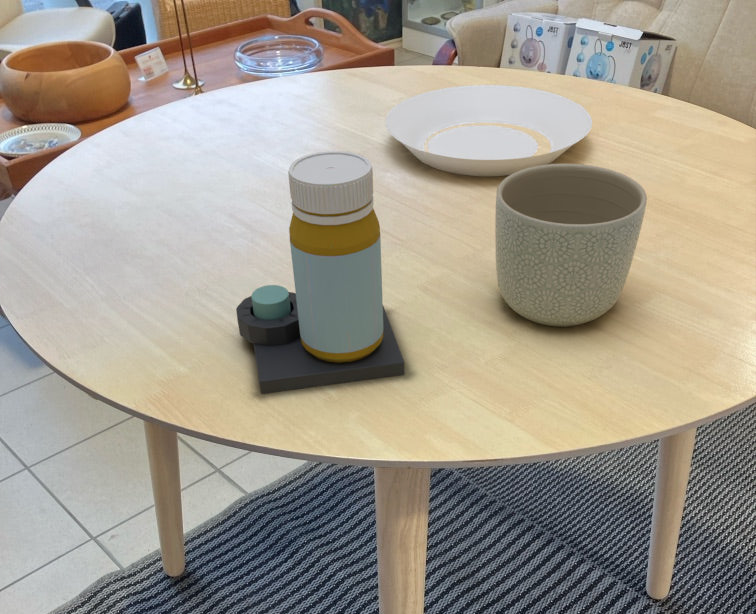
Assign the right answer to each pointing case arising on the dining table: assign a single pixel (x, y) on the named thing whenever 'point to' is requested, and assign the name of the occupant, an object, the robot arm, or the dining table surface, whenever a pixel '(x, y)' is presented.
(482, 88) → the bowl
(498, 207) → the planter
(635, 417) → the dining table surface
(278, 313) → the button
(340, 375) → the scale
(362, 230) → the bottle
